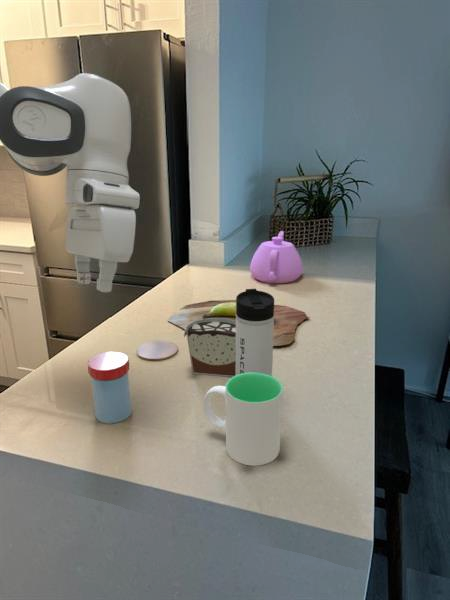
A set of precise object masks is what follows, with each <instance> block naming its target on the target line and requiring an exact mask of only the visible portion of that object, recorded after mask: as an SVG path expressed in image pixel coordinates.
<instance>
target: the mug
mask: <svg viewBox="0 0 450 600" xmlns="http://www.w3.org/2000/svg"><path fill="white" fill-rule="evenodd" d="M213 394H218V395H220V396H221V397H222V398H223V399H224V403H225V419H224V420H223V419H221V418H219V416H217V415H216V414H215V412H214V410H213V408H212V403H211V398H212V395H213ZM282 405H283V385H282V383H281V381H280V380H279V379H278V378H276V377H274V376H273V375H272V376H270V375H267V374H263V373H255V372H250V373H242V374H238V375H236V376H234V377H229V379H228V380H227V381H226V383H225V385H215V386H213V387H211V388H210V389H208V390H207V392H206V393H205V396H204V399H203V410H204V413H205V416H206V419H208V421H209V422H210V423H211V424H212V425H213V426H215V427H216V428H218V429H220V430H223V431H224V433H225V451H226V453H227V454H228V456H229V457H230V458H231V459H232V460H234V461H235V462H236V463H239V464H242V465H246V466H249V467H250V466H253V467H256V466H257V467H258V466H264V465H267V464H270V463H272V462H273V461H274V460H276V458H277V457H278V456H279V454H280V450H281V429H282V407H283V406H282Z"/></svg>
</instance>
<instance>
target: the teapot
mask: <svg viewBox="0 0 450 600" xmlns="http://www.w3.org/2000/svg"><path fill="white" fill-rule="evenodd" d="M284 234H285V232H284V230H280V231H279V232H278V235H277V236H273V237H271V240H268V241H264V242H262V243H261V244H260V245H259V246H258V247H257V249H256V250H255V252H254V254H253V256H252V258H251V262H250V264H249V271H250V274H251V275H252V276H253V278H255V279H256V280H257V281H259V282H262V283H267V284H288V283H293V282H295V281H297V280H298V279H299V277H300V276H301V275H303V271H304V269H303V268H304V267H303V262H302V259H301V256H300V254H299V252H298V250H297V249H296V247H295V245H294V244H293V243H292V242H290V241H285V240H284V236H285V235H284Z"/></svg>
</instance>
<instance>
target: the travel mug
mask: <svg viewBox="0 0 450 600" xmlns="http://www.w3.org/2000/svg"><path fill="white" fill-rule="evenodd" d="M235 300H236V309H237V310H236V375H238V374H242V373H250V372H255V373H263V374H267V375H270V376H272V377H273V361H274V360H273V357H274V346H273V333H274V305H275V298H274V296H273V295H272V294H270V293H268V292H266V291H264V290H263V291H262V290H258V289H257V288H246V289H245V291H242V292H239V293H238V294H237V296H236V298H235Z"/></svg>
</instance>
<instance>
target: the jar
mask: <svg viewBox="0 0 450 600" xmlns="http://www.w3.org/2000/svg"><path fill="white" fill-rule="evenodd" d="M129 373H130V372H129V371H128V372H127V373H126V374H125V375H123V376H121V377H119V378H116V379H112V380H97V379H94V378H92V377H91V376H90V383H91V389H92V400H93V406H94V414H95V415H94V416H95V418H96V420H97V421H98V422H99V423H102V424H106V425H107V424H109V425H111V424H117V423H121V422H123V421H126V420H127V419H128V418H129V417H130V416H131V415H132V413H133V406H132V396H131V395H132V394H131V384H130V374H129Z"/></svg>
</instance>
